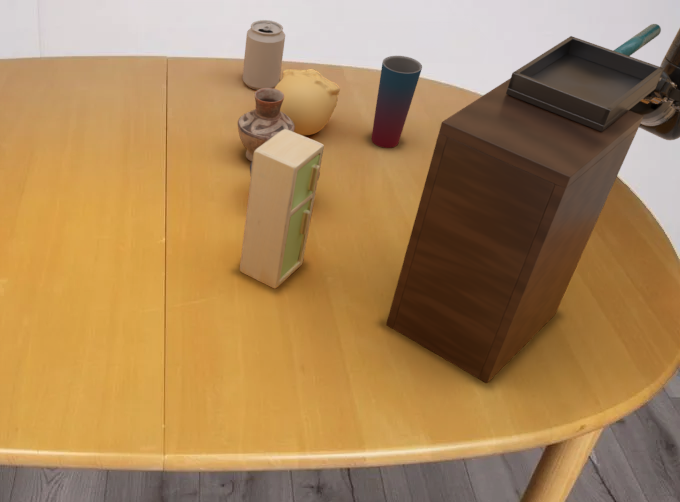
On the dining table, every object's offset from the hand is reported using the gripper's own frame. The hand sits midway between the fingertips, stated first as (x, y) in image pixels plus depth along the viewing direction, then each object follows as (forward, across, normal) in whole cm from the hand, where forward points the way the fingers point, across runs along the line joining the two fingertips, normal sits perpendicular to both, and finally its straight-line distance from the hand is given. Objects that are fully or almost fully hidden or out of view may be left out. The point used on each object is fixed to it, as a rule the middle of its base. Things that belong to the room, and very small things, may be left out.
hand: (630, 74), depth 122 cm
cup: (-18, -37, +23) cm, 47 cm away
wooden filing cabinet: (+11, 0, +39) cm, 40 cm away
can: (-18, -67, +23) cm, 73 cm away
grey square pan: (+12, 0, +3) cm, 12 cm away
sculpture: (-11, -51, +27) cm, 59 cm away
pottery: (+5, -43, +36) cm, 56 cm away
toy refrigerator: (+21, -27, +45) cm, 57 cm away
